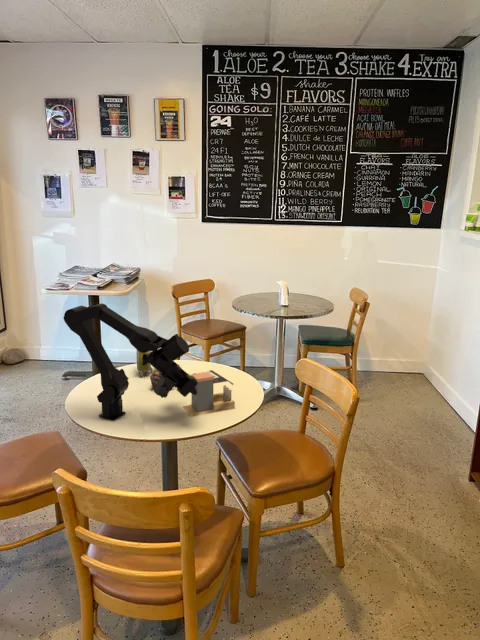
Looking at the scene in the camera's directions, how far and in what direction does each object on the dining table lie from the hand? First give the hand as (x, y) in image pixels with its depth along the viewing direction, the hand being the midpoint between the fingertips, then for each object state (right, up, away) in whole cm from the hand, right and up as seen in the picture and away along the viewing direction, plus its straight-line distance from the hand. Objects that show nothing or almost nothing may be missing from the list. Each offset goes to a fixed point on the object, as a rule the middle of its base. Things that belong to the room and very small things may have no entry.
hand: (195, 393), depth 157 cm
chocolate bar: (+4, 0, +35) cm, 35 cm away
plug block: (+2, -6, +5) cm, 8 cm away
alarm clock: (-25, +2, +41) cm, 48 cm away
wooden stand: (+4, -7, +6) cm, 10 cm away
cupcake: (-15, -2, +25) cm, 29 cm away
